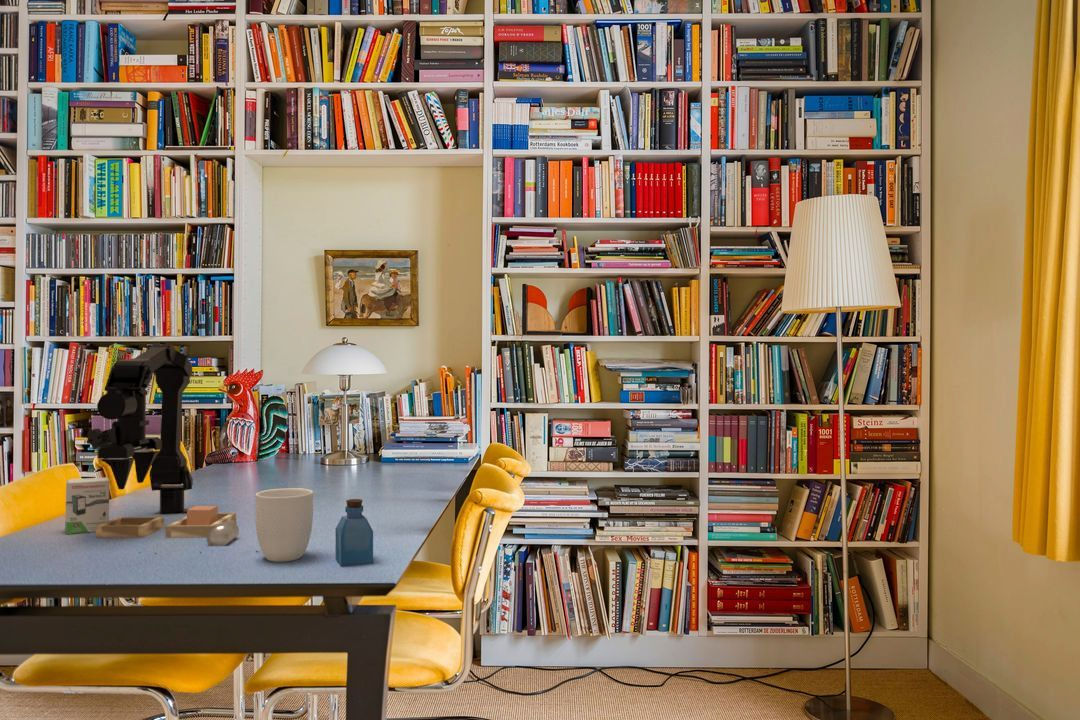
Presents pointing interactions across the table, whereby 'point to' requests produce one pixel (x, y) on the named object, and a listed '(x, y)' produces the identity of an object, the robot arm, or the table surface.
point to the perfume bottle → (354, 537)
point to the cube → (202, 515)
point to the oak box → (129, 527)
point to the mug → (284, 522)
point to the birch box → (196, 527)
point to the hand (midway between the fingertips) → (131, 485)
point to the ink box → (86, 504)
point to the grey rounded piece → (222, 534)
